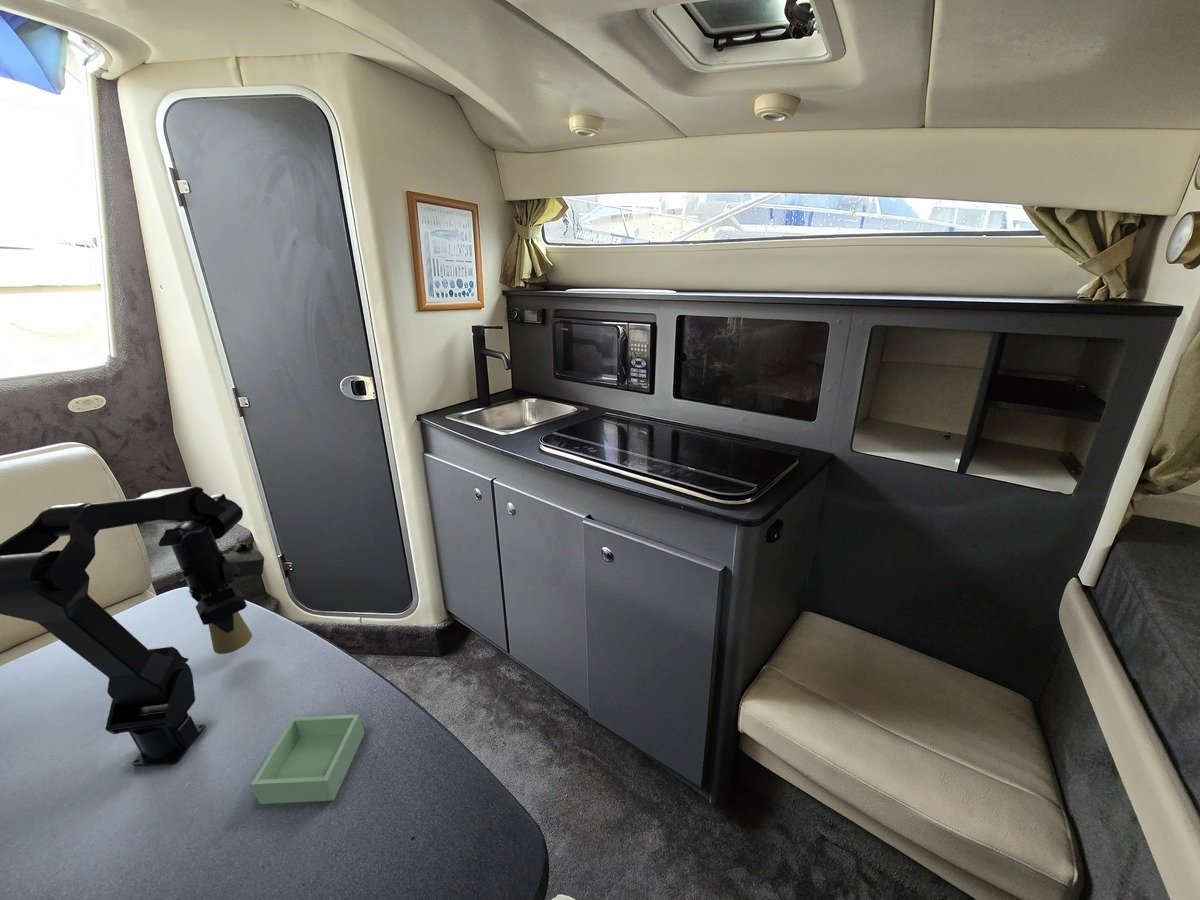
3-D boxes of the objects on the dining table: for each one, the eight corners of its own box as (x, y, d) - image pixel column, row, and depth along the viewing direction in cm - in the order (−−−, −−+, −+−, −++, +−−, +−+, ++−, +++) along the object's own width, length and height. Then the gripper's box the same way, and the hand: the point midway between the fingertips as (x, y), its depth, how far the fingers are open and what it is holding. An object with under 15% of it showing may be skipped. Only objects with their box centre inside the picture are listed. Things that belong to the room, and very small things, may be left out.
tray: (259, 804, 68) (250, 784, 66) (299, 736, 77) (292, 717, 75) (334, 800, 68) (326, 780, 66) (364, 733, 77) (359, 714, 76)
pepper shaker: (232, 656, 89) (212, 607, 85) (205, 651, 91) (184, 603, 86) (260, 632, 95) (242, 585, 91) (233, 628, 96) (215, 582, 92)
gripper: (266, 554, 85) (291, 625, 91) (239, 518, 97) (262, 584, 103) (186, 584, 77) (218, 660, 83) (167, 542, 89) (197, 611, 95)
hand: (227, 625), depth 91 cm, fingers closed on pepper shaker, 4 cm apart
